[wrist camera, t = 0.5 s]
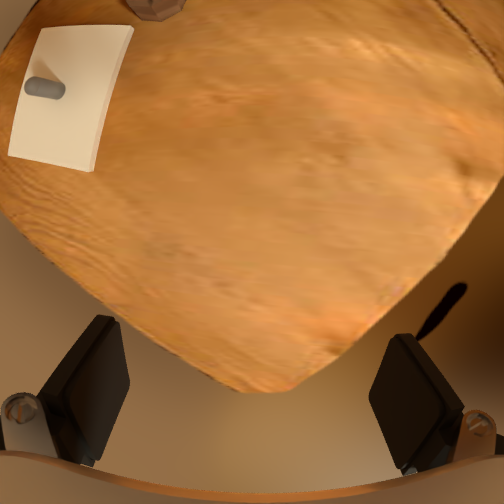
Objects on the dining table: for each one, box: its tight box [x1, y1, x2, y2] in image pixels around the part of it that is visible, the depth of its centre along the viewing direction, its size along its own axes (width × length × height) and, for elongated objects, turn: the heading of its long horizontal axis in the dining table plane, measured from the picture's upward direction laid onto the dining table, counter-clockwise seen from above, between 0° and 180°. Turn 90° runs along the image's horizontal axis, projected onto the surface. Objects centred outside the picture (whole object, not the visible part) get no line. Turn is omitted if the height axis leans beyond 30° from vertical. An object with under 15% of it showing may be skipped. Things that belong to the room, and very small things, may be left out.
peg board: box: [8, 25, 134, 172], centre depth 27 cm, size 20×16×9 cm
